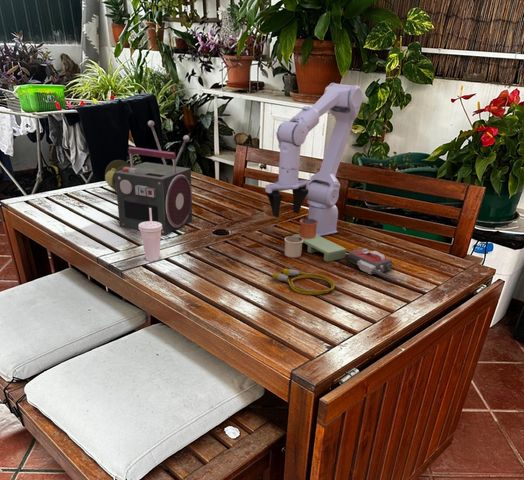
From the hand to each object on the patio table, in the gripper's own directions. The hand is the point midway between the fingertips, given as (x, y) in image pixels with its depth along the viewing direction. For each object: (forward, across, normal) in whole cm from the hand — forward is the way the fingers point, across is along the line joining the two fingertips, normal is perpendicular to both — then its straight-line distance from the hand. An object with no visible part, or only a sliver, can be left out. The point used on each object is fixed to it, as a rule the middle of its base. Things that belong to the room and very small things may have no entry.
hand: (285, 214), depth 154 cm
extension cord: (+10, -12, -26) cm, 31 cm away
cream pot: (+9, -3, -8) cm, 13 cm away
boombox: (+9, -26, +36) cm, 45 cm away
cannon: (+10, -16, +74) cm, 76 cm away
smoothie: (+9, -40, +8) cm, 42 cm away
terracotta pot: (+7, +6, -4) cm, 10 cm away
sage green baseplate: (+9, +6, -9) cm, 14 cm away
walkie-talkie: (+10, +11, -29) cm, 32 cm away
